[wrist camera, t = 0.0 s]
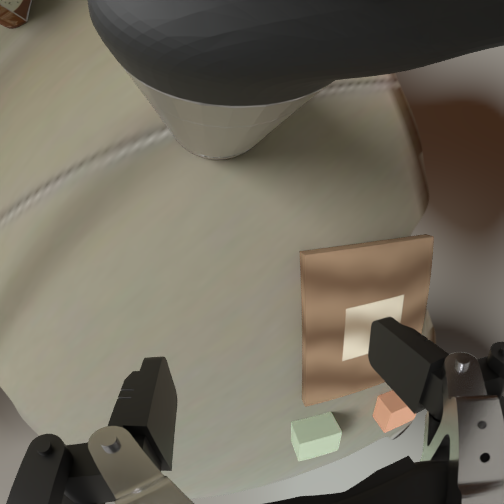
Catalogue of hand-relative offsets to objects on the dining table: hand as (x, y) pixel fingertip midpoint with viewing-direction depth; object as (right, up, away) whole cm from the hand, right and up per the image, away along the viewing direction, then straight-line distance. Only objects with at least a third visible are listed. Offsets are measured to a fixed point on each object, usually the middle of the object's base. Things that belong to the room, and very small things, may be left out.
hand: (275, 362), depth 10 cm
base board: (+13, -4, +21) cm, 25 cm away
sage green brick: (+8, -22, +25) cm, 34 cm away
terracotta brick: (+22, -20, +26) cm, 39 cm away
